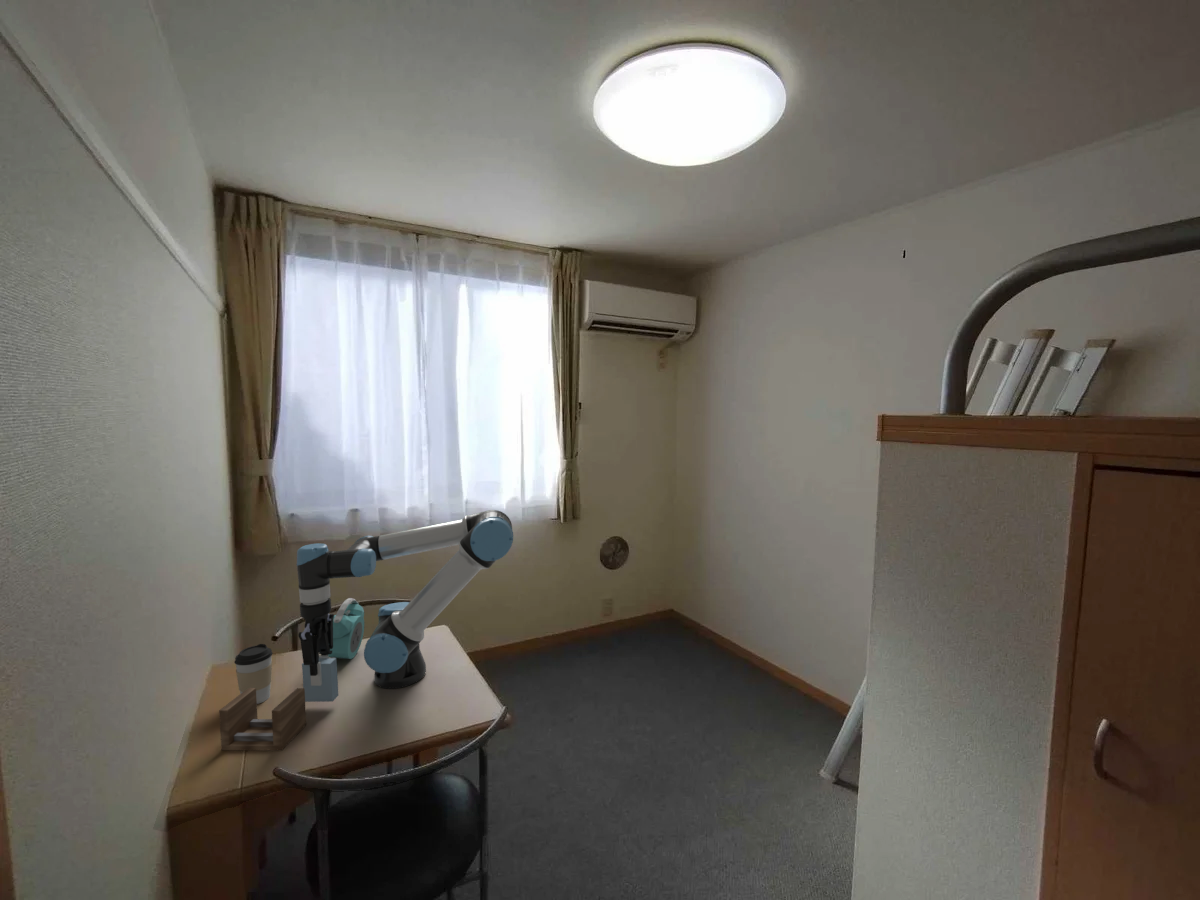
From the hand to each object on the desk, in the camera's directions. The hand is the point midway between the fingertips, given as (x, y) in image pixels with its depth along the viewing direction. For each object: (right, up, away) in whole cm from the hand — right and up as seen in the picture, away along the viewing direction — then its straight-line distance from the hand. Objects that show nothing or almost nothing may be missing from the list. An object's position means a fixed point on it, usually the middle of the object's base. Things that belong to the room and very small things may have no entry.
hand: (320, 681), depth 140 cm
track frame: (-7, -9, -12) cm, 17 cm away
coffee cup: (-22, -8, +5) cm, 23 cm away
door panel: (0, -5, 0) cm, 5 cm away
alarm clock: (-8, -6, +29) cm, 31 cm away
